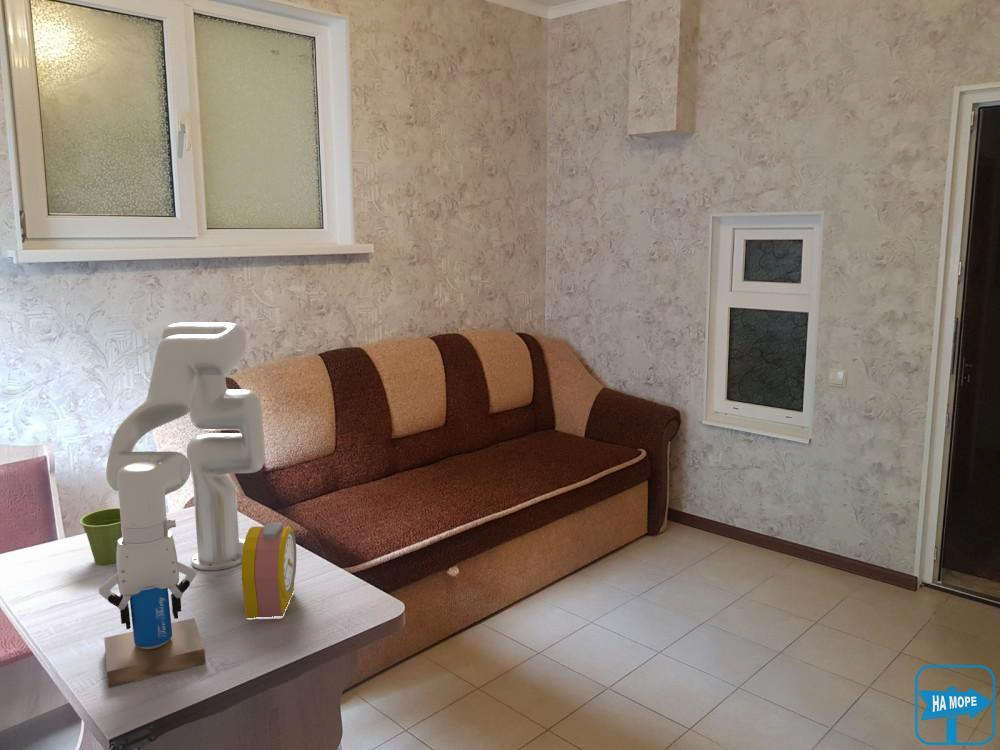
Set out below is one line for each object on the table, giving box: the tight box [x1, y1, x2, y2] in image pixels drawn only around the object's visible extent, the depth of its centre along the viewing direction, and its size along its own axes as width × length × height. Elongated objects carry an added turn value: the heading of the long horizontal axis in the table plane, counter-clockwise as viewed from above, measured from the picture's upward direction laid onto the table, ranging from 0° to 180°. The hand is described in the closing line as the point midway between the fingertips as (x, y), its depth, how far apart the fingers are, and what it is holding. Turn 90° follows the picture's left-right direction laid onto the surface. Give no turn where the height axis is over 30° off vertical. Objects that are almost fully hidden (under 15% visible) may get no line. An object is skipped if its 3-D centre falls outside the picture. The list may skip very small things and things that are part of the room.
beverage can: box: [129, 586, 172, 649], centre depth 141 cm, size 6×6×12 cm
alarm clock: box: [240, 521, 297, 619], centre depth 161 cm, size 15×8×18 cm, turn 4°
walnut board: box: [103, 617, 206, 688], centre depth 142 cm, size 16×13×3 cm
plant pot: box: [79, 507, 122, 567], centre depth 183 cm, size 12×12×11 cm
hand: (152, 620), depth 141 cm, fingers open, 7 cm apart
